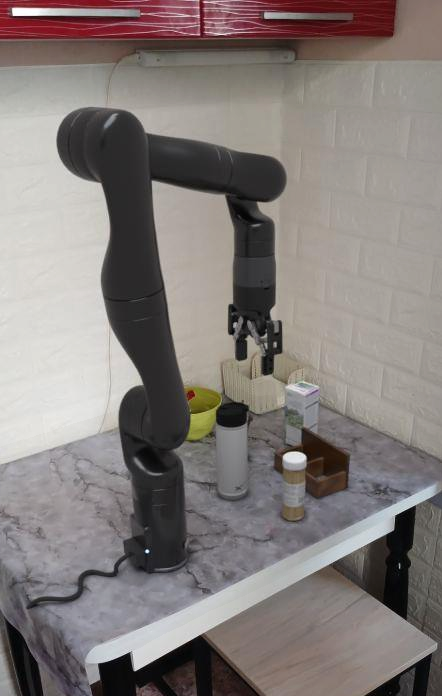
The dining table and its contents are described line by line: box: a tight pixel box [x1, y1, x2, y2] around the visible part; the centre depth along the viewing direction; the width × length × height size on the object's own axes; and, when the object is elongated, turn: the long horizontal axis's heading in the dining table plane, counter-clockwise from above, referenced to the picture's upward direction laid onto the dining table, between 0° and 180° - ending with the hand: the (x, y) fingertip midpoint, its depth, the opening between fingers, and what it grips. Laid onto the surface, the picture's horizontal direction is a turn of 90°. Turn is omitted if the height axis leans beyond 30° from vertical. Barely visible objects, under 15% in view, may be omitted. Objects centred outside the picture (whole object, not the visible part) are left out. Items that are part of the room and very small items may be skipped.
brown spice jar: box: [281, 452, 307, 522], centre depth 147 cm, size 5×5×13 cm
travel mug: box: [215, 401, 250, 501], centre depth 154 cm, size 6×7×20 cm
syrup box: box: [284, 379, 320, 447], centre depth 174 cm, size 6×6×14 cm
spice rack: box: [273, 427, 351, 500], centre depth 161 cm, size 8×15×8 cm, turn 32°
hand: (254, 367), depth 140 cm, fingers open, 8 cm apart
